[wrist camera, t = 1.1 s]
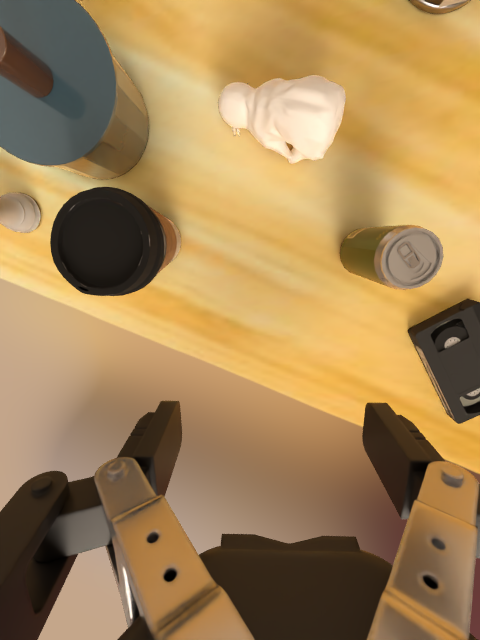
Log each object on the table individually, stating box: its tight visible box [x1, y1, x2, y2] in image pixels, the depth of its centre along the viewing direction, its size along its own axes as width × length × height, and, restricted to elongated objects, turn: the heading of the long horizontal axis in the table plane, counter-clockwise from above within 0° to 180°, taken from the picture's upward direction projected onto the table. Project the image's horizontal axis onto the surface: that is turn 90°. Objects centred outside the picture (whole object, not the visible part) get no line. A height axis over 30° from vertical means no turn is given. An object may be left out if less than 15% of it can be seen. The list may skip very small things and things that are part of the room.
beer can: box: [340, 225, 443, 290], centre depth 31 cm, size 5×5×12 cm
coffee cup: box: [51, 187, 181, 296], centre depth 30 cm, size 8×8×15 cm
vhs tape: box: [408, 299, 480, 424], centre depth 39 cm, size 14×8×2 cm, turn 31°
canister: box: [56, 55, 149, 180], centre depth 30 cm, size 11×11×10 cm
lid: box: [0, 0, 118, 167], centre depth 23 cm, size 12×12×6 cm
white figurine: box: [218, 75, 346, 163], centre depth 30 cm, size 6×8×12 cm
